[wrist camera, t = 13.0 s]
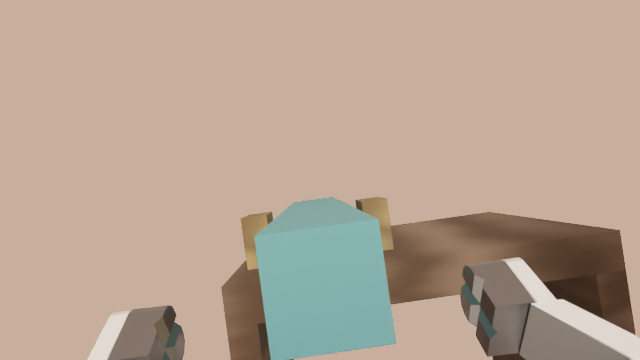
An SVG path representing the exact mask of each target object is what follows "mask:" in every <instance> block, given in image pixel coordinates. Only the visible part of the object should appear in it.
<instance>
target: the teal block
mask: <svg viewBox="0 0 640 360" xmlns="http://www.w3.org/2000/svg"><path fill="white" fill-rule="evenodd" d="M254 239H255V246H256V254H257V261H258V269H259V276H260V283H261V291H262V298H263V306H264V313H265V321H266V328H267V335H268V343H269V350H270V358H271V360H290V359H296V358H303V357H310V356H316V355H323V354H330V353H336V352H343V351H350V350H357V349H363V348H370V347H377V346H384V345H390V344H396V340H395V333H394V326H393V318H392V311H391V304H390V297H389V290H388V283H387V276H386V269H385V261H384V254H383V247H382V240H381V233H380V226H379V219H378V218H376V217H373V216H371V215H369V214H367V213H365V212H363V211H361V210H359V209H356V208H354V207H352V206H350V205H348V204H346V203H344V202H342V201H339V200H337V199H335V198H333V197H330V198H323V199H316V200H308V201H301V202H294V203H293V204H292V205H291V206H289V207H288V208H287V209H286V210H285V211H284V212H282V213H281V214H280V215H279V216H278V217H276V219H274V220H273V221H272V222H271V223H269V224H268V225H267V226H266V227H265V228H263V229H262V230H261V231H260V232H259V233H258V234H256V235H255V236H254Z"/></svg>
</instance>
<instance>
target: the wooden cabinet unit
mask: <svg viewBox="0 0 640 360" xmlns="http://www.w3.org/2000/svg"><path fill="white" fill-rule="evenodd" d="M356 207H357V209H359V210H361V211H363V212H365V213H367V214H369V215H371V216H373V217H376V218H378V219H379V226H380V233H381V240H382V247H383V254H384V261H385V269H386V276H387V283H388V290H389V297H390V304H397V303H404V302H411V301H417V300H424V299H431V298H438V297H445V296H452V295H458V294H461V287H462V286H463V285H464V284H465V283H466V282H465V280H464V278H463V276H462V273H463V268H464V266H465V265H469V264H476V263H483V262H490V261H497V260H503V259H509V258H516V257H519V258H521V259H523V260H524V261H525V263H526V264H527V265H528V266H529V267H530V268H531V270H532V271H533V272H534V273H535V274H536V276H537V277H538V278H539V279H540V280H541V281H542V283H543V284H544V285H545V286H546V287H547V288H548V290H549V291H550V292H551V293H552V294H553V295H554V297H555V298H556V299H557V300H559V299H564V300H566V301H568V302H570V303H572V304H574V305H576V306H578V307H580V308H582V309H584V310H586V311H588V312H590V313H592V314H594V315H596V316H598V317H600V318H602V319H604V320H606V321H608V322H610V323H612V324H614V325H616V326H618V327H620V328H622V329H624V330H626V331H628V332H630V333H632V334H634V335H635V329H634V322H633V316H632V309H631V303H630V296H629V289H628V283H627V277H626V269H625V263H624V256H623V250H622V243H621V236H620V230H614V229H607V228H600V227H592V226H585V225H577V224H571V223H563V222H556V221H549V220H542V219H535V218H527V217H520V216H513V215H506V214H499V213H491V212H487V213H480V214H473V215H467V216H459V217H452V218H445V219H437V220H430V221H423V222H416V223H409V224H402V225H395V226H391V225H390V218H389V212H388V204H387V198H381V197H375V198H367V199H360V200H356ZM272 221H273V217H272V212H267V213H260V214H253V215H248V216H246V217H243V218H241V223H242V231H243V238H244V246H245V253H246V261H245V262H244V263H243V264H242V265H241V266H240V268H239V269H238V270H237V271H236V272H235V273H234V274H233V275H232V276H231V278H230V279H229V280H228V281H227V282H226V283H225V284H224V285H223V286H222V296H223V303H224V311H225V318H226V326H227V333H228V341H229V348H230V355H231V360H271V358H270V350H269V343H268V335H267V328H266V321H265V313H264V306H263V298H262V291H261V283H260V276H259V269H258V261H257V254H256V246H255V239H254V236H255V235H256V234H258V233H259V232H260V231H261V230H262V229H263V228H265V227H266V226H267V225H268V224H269V223H271V222H272ZM519 354H520V353H514V354H506V355H497V356H493V360H526V359H524V358H523V357H522V356H521V355H519ZM290 360H294V359H290Z"/></svg>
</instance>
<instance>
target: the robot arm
mask: <svg viewBox="0 0 640 360" xmlns="http://www.w3.org/2000/svg"><path fill="white" fill-rule="evenodd" d="M462 276H463V278H464V280H465V282H466V283H465V284H464V285H463V286H462V287H461V303H462V308H463V311H464V313H465V315H466V317H467V319H468V321H469V322H470V323H471V324H473V325H475V326H476V327H477V330H476V336H477V338H478V340H479V342H480V344H481V346H482V348H483V349H484V351H485V353H486V355H487V356H497V355H506V354H514V353H520V354H519V355H521V356H522V357H523V358H524V359H526V360H640V337H638V336H636V335H634V334H632V333H630V332H628V331H626V330H624V329H622V328H620V327H618V326H616V325H614V324H612V323H610V322H608V321H606V320H604V319H602V318H600V317H598V316H596V315H594V314H592V313H590V312H588V311H586V310H584V309H582V308H580V307H578V306H576V305H574V304H572V303H570V302H568V301H566V300H564V299H559V300H557V299H556V298H555V297H554V295H553V294H552V293H551V292H550V291H549V290H548V288H547V287H546V286H545V285H544V284H543V283H542V281H541V280H540V279H539V278H538V277H537V276H536V274H535V273H534V272H533V271H532V270H531V268H530V267H529V266H528V265H527V264H526V263H525V261H524V260H523V259H521V258H519V257H516V258H509V259H503V260H497V261H490V262H483V263H476V264H469V265H465V266H464V268H463V273H462ZM175 317H176V313H175V311H174V309H173V307H172V306H162V307H152V308H143V309H134V310H128V311H120V312H114V313H113V314H112V315H110V317H109V318H108V320H107V322H106V324H105V326H104V328H103V330H102V332H101V334H100V336H99V338H98V340H97V342H96V344H95V345H94V347H93V349H92V351H91V353H90V355H89V357H88V359H87V360H182V359H183V355H184V343H185V340H184V334H183V331H182V328H181V326H180V325H178V324H176V323H175V322H174V321H175Z"/></svg>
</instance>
